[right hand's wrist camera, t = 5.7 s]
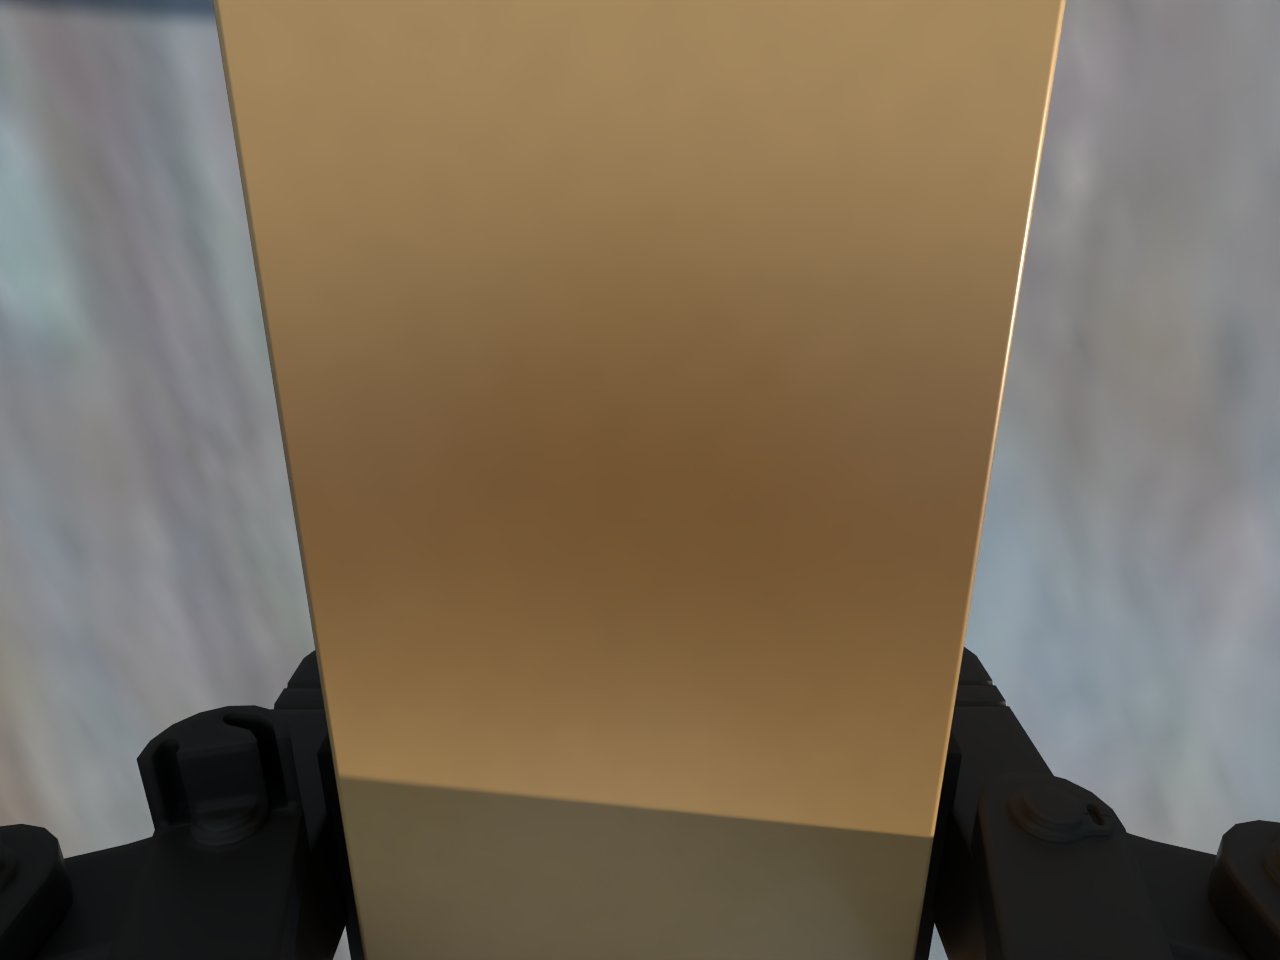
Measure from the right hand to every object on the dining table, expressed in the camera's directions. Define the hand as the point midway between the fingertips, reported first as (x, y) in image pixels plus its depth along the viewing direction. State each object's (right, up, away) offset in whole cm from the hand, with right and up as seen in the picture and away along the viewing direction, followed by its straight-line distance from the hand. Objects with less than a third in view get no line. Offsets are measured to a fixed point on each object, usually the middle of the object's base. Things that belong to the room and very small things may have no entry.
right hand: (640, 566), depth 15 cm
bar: (0, +9, -3) cm, 9 cm away
